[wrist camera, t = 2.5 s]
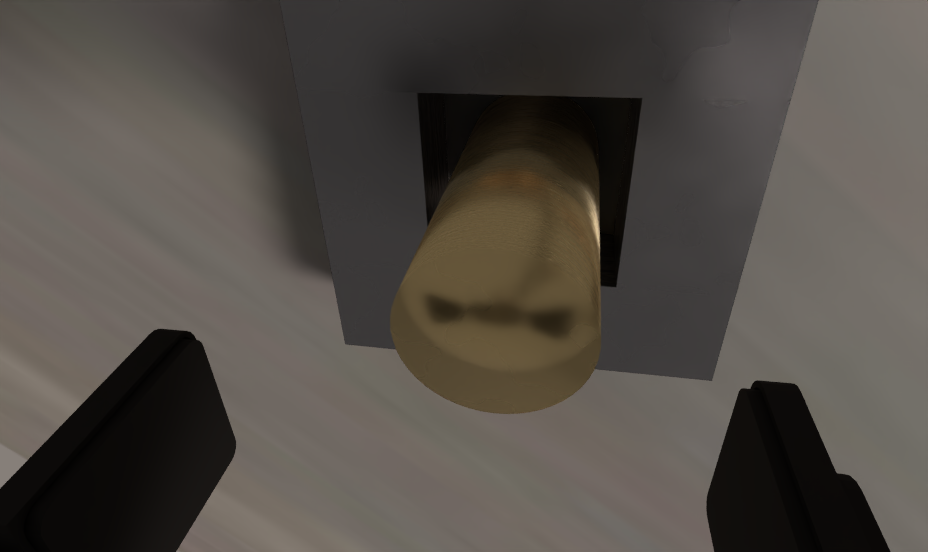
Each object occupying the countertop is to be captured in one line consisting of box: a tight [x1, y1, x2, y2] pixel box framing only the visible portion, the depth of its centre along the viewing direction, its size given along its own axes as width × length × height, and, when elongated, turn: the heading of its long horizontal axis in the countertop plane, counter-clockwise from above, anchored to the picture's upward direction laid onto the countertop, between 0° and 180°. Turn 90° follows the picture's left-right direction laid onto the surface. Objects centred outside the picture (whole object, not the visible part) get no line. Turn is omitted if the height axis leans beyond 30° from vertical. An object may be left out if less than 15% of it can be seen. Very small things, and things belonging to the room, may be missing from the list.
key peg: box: [390, 95, 601, 414], centre depth 15 cm, size 4×4×9 cm
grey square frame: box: [279, 0, 819, 381], centre depth 17 cm, size 12×12×3 cm
